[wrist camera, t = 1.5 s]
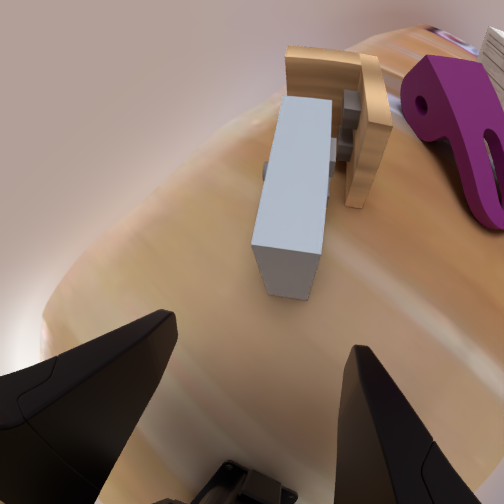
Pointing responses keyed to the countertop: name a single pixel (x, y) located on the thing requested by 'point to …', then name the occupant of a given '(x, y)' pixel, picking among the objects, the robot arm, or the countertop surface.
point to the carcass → (346, 108)
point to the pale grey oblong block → (295, 197)
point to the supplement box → (494, 60)
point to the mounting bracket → (461, 125)
